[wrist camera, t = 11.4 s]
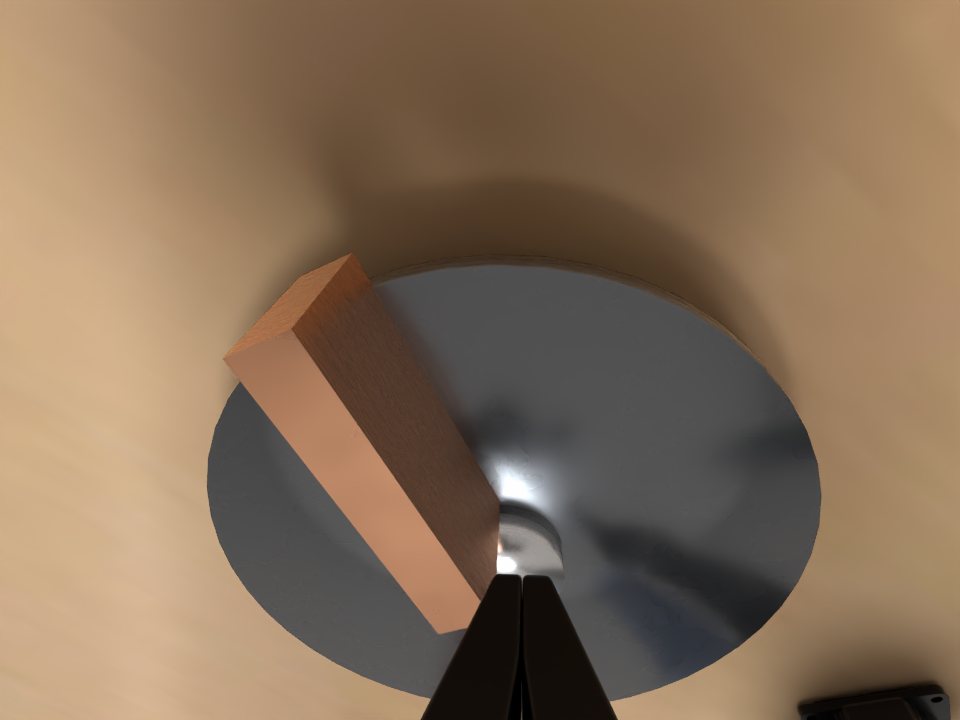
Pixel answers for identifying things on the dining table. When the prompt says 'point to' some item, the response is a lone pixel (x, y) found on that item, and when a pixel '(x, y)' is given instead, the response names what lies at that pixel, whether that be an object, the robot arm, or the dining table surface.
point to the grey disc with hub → (508, 466)
